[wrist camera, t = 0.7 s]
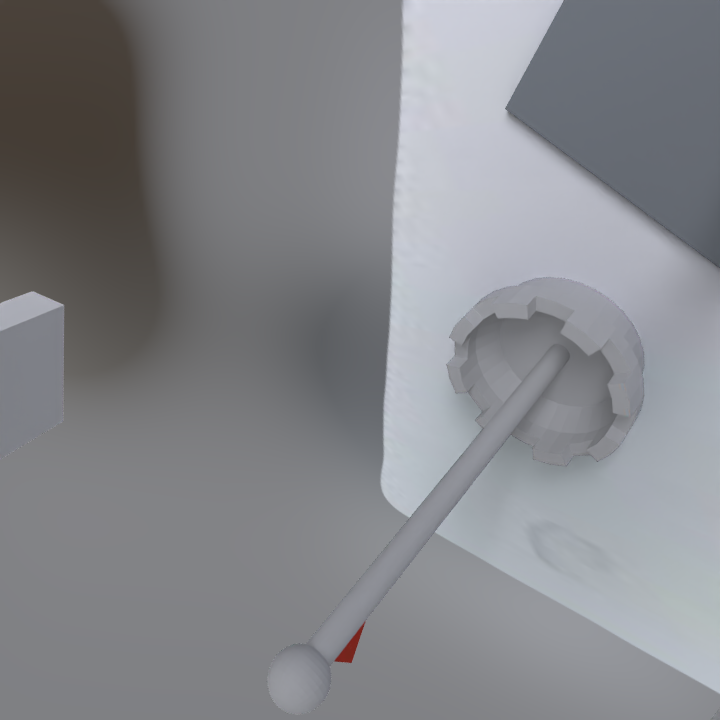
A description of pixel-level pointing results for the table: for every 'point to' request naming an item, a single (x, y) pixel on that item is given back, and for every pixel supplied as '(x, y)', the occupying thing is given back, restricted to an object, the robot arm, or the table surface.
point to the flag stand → (496, 435)
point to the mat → (636, 105)
